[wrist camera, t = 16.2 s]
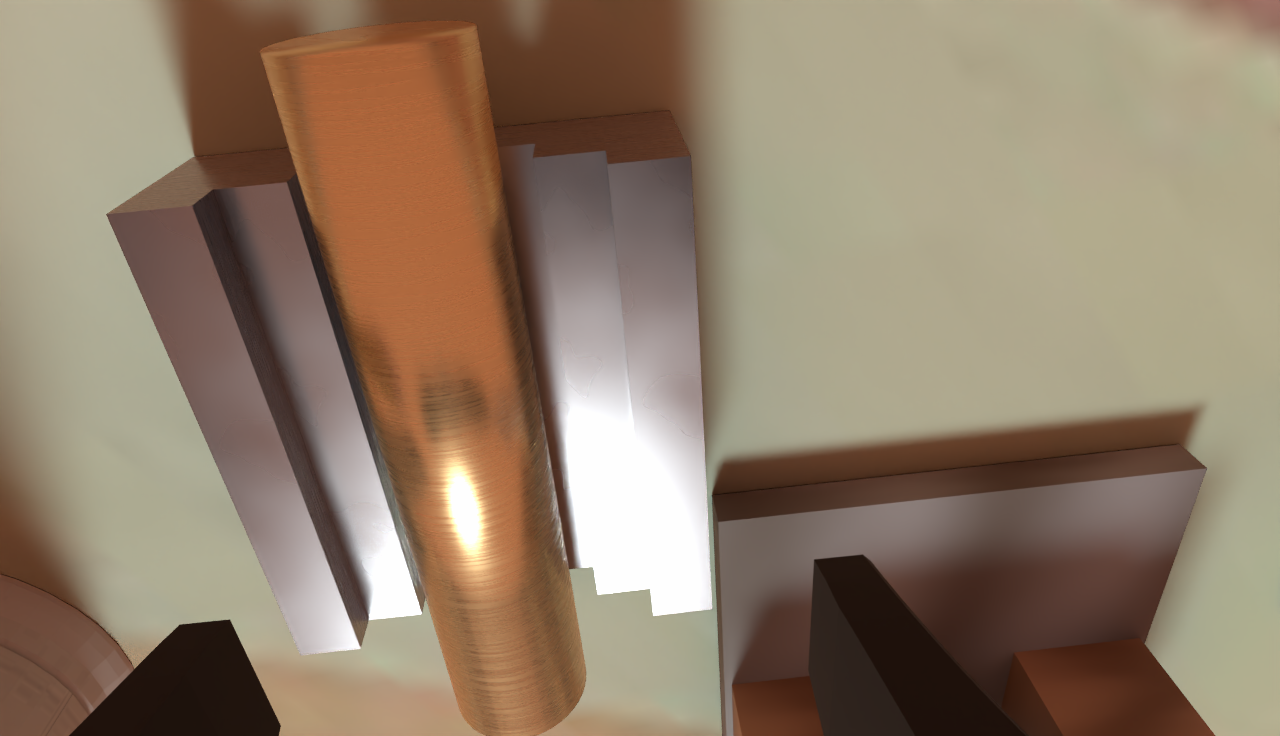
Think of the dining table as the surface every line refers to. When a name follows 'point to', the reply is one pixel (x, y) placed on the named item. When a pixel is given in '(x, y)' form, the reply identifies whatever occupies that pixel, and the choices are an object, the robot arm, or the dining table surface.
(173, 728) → the robot arm
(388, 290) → the axle
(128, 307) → the dining table surface
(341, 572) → the v block
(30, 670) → the glass holder
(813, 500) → the bridge block
